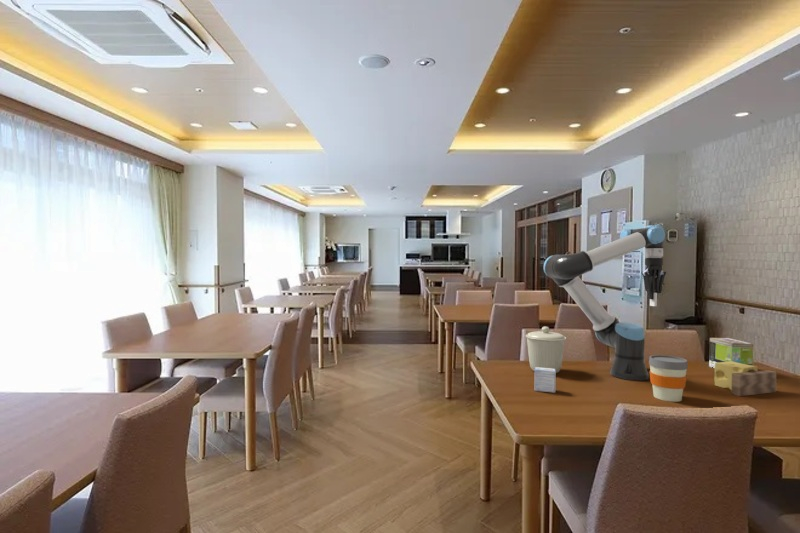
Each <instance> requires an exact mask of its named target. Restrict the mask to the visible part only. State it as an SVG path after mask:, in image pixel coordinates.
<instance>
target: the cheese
mask: <svg viewBox="0 0 800 533" xmlns="http://www.w3.org/2000/svg"><path fill="white" fill-rule="evenodd" d="M754 371H759V369H758V366H757V365H753V366H752V365H746V364H741V363H737V362H733V361H729V362H718V363H715V368H714V386H716V387H719V388H723V389H728V390H730V391H732V374H733V373H743V372H754Z"/></svg>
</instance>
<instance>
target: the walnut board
mask: <svg viewBox="0 0 800 533" xmlns="http://www.w3.org/2000/svg"><path fill="white" fill-rule="evenodd" d="M771 393H777V372H776V371H774V370H773V371H772V370H769V369H768V370H767V369H766V370H765V369H764V370H758V371H754V372H743V373H733V374H732V390H731V395H735V396H738V397H744V396H751V395H752V396H753V395H761V394H771Z"/></svg>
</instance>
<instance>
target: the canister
mask: <svg viewBox="0 0 800 533" xmlns="http://www.w3.org/2000/svg"><path fill="white" fill-rule="evenodd" d="M525 338H526V344H527V352H528V360H529V366H530V369H531V370H532V371H534V372H535V367H540V368H552V369H555V371H556V374H557V373H559V372H560V371H561V369H562V364H563V357H564V348H565V342H566V340H567V337H566V336H564V335H563V334H562V333H559V332H555V331H550V327H549V326H542V327H541V331H539V330H537V331H531V332H528V333H526V334H525Z"/></svg>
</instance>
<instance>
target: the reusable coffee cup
mask: <svg viewBox="0 0 800 533" xmlns="http://www.w3.org/2000/svg"><path fill="white" fill-rule="evenodd" d="M648 365H649V369H650V370H649V371H648V373H649V379H650V380H649V381H650V383H651V384H652V394H653V397H654V398H655V399H658V400H661V401H664V402H665V401H666V402H673V403H675V402H677V403H678V402H681V401H682V400H683V392H684V389H685V388H686V383H687V376H688V375H687V370H688V368H689V366H688V360H687V359H685V358H683V357H678V356H674V355H673V356H672V355H666V354H654V355H650V356H649V360H648Z"/></svg>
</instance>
